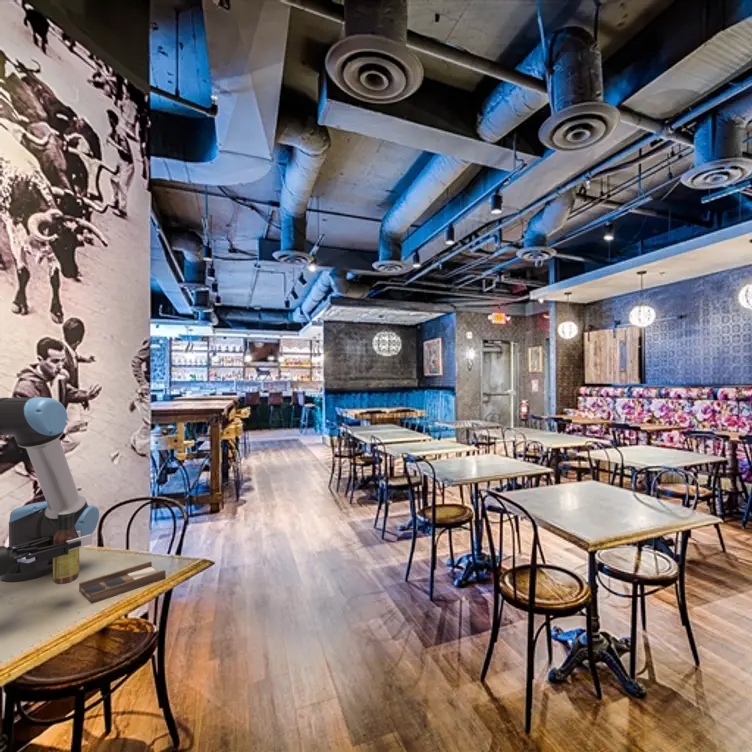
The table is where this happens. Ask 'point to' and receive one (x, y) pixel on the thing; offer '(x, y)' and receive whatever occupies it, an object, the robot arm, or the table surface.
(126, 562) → the table surface
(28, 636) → the table surface
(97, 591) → the trap channel board
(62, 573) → the sauce bottle
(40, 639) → the table surface
